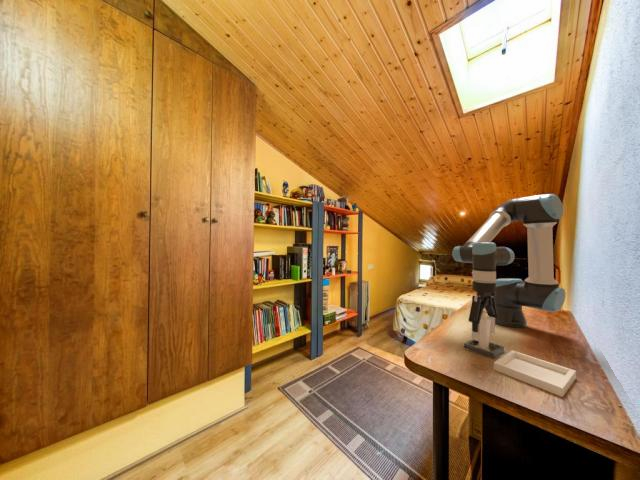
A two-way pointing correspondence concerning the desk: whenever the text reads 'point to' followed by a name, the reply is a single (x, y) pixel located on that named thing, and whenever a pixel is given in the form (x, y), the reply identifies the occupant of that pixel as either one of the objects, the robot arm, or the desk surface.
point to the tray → (536, 372)
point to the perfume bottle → (485, 331)
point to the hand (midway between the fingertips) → (483, 336)
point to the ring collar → (493, 354)
